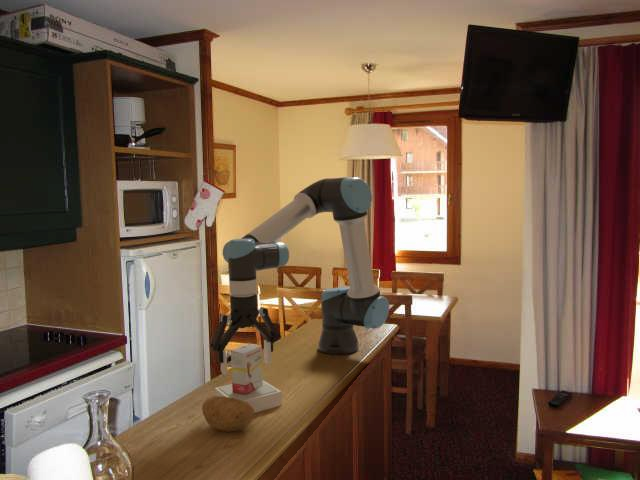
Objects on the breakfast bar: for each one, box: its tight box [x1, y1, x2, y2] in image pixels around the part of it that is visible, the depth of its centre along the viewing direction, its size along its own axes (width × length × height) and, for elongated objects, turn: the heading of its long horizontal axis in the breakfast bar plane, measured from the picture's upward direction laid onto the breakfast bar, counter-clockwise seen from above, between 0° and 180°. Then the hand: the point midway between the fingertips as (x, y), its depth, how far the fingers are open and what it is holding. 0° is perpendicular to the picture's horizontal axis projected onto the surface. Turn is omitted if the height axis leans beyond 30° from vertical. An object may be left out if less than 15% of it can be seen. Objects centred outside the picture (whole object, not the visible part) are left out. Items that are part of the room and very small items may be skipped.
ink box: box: [230, 343, 264, 395], centre depth 149 cm, size 9×5×12 cm, turn 151°
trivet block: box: [214, 380, 283, 414], centre depth 150 cm, size 14×14×4 cm
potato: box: [201, 396, 255, 433], centre depth 134 cm, size 10×14×8 cm
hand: (246, 368), depth 149 cm, fingers open, 13 cm apart
